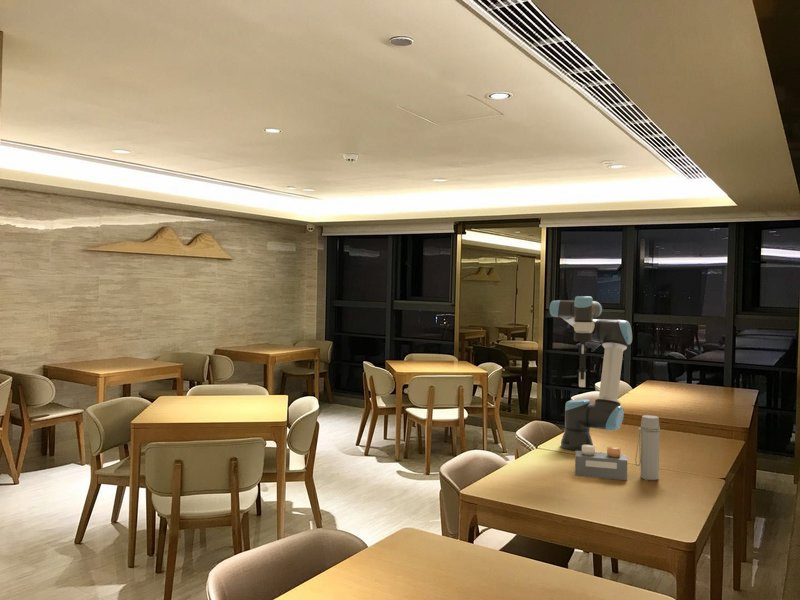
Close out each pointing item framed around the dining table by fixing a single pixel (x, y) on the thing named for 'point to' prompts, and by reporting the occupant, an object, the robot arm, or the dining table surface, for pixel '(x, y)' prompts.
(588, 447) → the knob
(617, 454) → the knob
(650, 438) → the water bottle
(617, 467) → the console
